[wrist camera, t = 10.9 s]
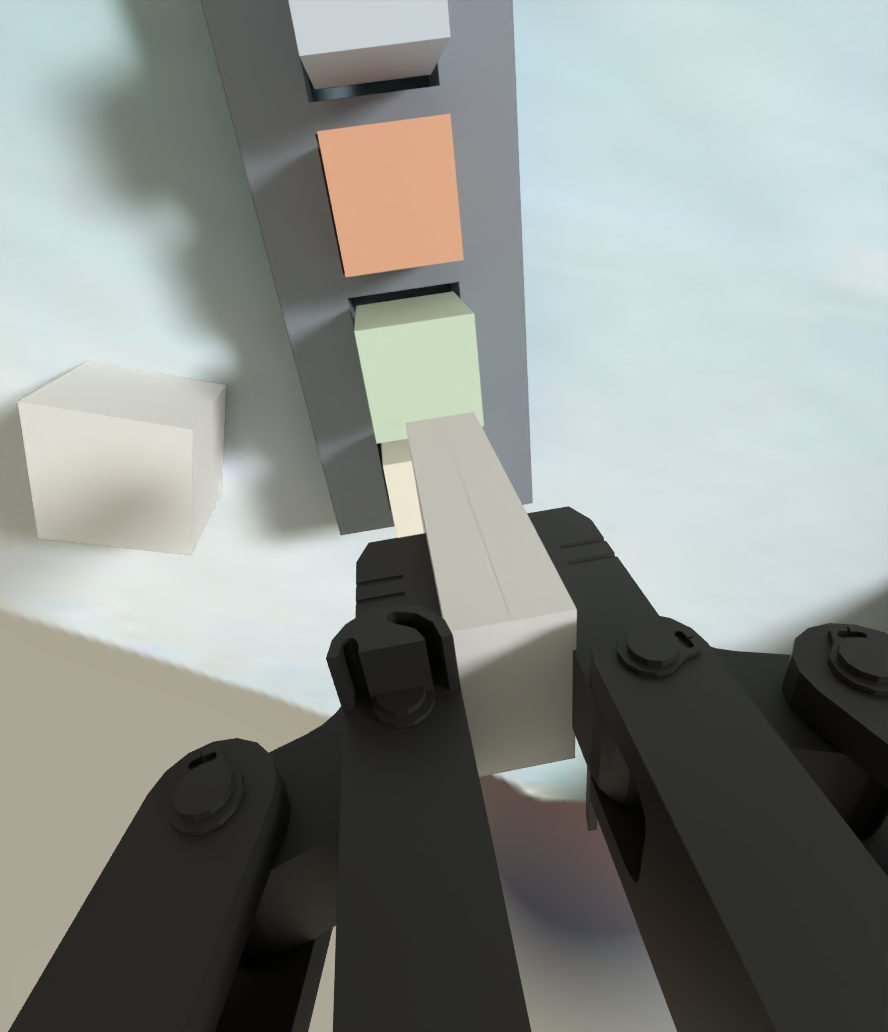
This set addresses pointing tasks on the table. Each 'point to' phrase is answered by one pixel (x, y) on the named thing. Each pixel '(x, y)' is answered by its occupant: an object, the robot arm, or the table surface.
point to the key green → (418, 361)
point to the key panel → (328, 292)
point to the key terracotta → (393, 194)
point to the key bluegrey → (369, 39)
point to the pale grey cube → (124, 457)
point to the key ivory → (401, 488)
